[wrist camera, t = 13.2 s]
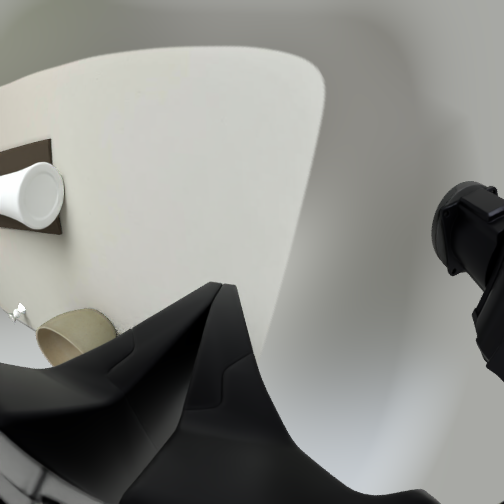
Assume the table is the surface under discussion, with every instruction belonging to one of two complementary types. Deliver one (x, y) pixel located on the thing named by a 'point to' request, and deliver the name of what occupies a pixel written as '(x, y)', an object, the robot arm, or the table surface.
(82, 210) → the table surface
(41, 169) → the cosmetic bottle
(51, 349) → the bowl
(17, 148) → the mat
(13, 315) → the wrapped candy
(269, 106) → the table surface
